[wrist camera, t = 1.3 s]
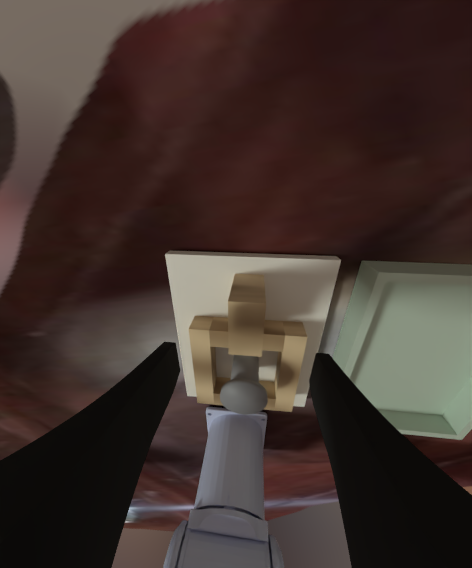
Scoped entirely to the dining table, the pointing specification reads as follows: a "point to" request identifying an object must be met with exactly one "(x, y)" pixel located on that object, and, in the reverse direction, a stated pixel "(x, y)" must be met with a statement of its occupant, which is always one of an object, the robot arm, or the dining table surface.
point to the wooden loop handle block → (247, 344)
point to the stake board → (279, 306)
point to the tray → (412, 345)
